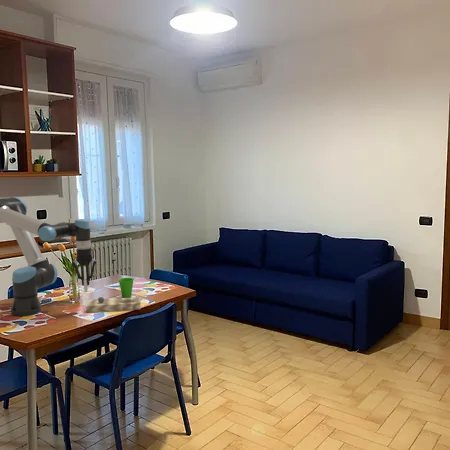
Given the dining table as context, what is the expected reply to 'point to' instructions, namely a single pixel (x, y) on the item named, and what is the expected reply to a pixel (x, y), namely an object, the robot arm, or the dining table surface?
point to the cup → (126, 287)
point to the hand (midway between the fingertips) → (86, 291)
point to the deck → (114, 304)
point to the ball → (100, 299)
